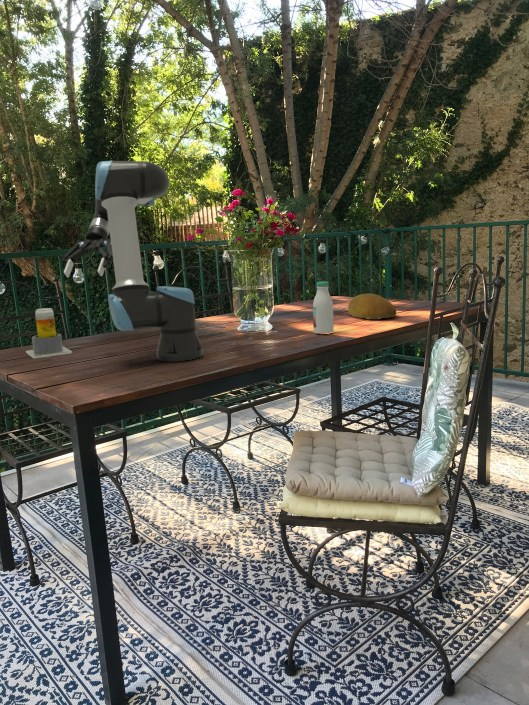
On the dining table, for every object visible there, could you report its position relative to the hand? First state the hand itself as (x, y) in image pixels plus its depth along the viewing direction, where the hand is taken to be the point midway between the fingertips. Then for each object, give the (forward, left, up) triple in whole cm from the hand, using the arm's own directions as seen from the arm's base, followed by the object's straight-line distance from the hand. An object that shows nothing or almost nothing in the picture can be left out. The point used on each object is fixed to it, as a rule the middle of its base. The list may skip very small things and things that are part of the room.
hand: (82, 274), depth 213 cm
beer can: (-3, +16, -26) cm, 31 cm away
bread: (-20, -123, -27) cm, 127 cm away
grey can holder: (-3, +16, -27) cm, 31 cm away
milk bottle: (-42, -78, -27) cm, 93 cm away
